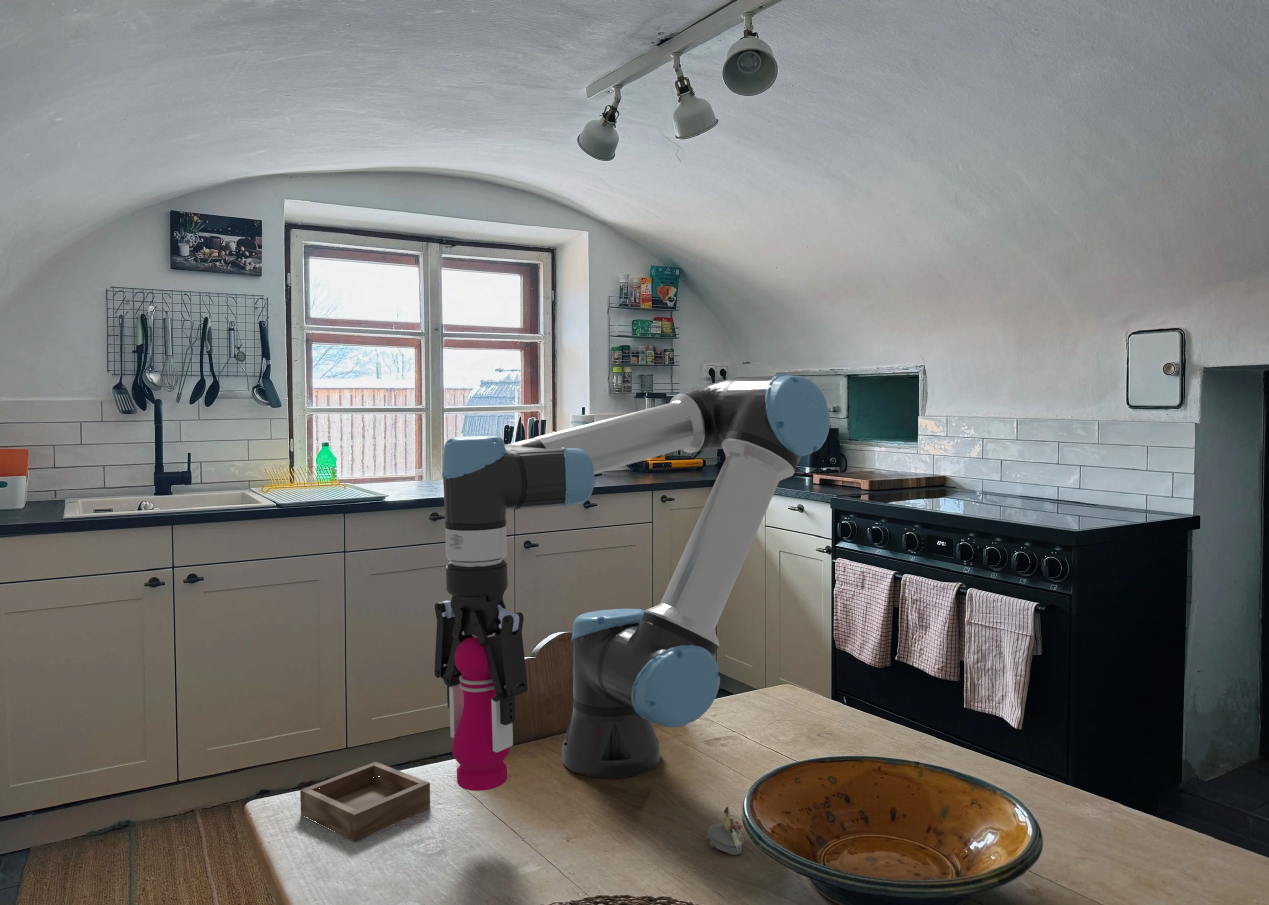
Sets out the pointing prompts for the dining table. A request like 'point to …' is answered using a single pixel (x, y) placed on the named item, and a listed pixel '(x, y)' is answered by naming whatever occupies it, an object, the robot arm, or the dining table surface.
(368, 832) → the holder tray
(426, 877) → the dining table surface
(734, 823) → the figurine
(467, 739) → the pepper mill
